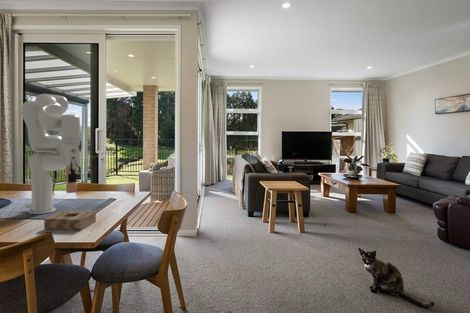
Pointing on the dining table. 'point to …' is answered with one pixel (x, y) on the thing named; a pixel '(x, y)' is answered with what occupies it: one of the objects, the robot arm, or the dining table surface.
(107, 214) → the dining table surface
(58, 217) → the socket block
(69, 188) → the peg
